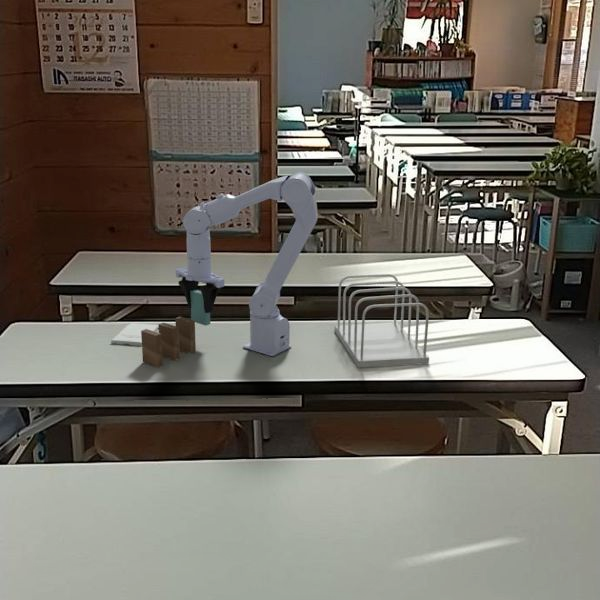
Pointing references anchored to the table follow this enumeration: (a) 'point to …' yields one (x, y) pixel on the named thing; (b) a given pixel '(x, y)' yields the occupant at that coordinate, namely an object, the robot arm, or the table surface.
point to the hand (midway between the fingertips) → (200, 309)
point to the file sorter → (381, 330)
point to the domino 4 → (198, 308)
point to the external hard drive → (133, 334)
